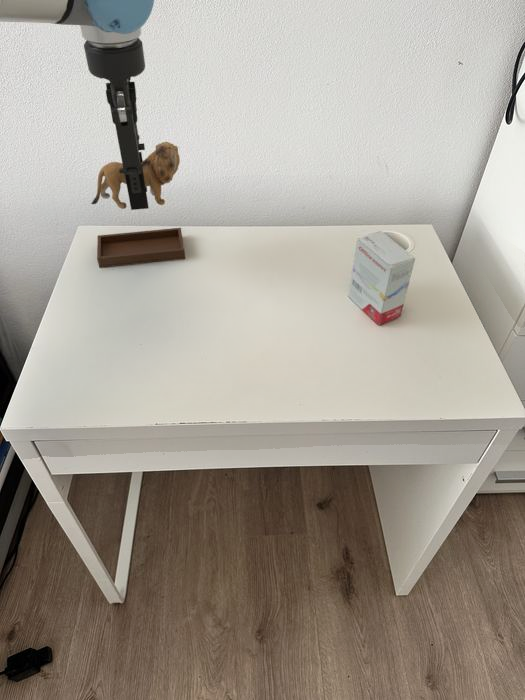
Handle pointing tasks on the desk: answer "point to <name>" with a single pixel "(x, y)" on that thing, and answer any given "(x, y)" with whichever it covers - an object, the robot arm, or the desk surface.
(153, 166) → the lion figurine
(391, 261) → the ink box
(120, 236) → the tray
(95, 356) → the desk surface
